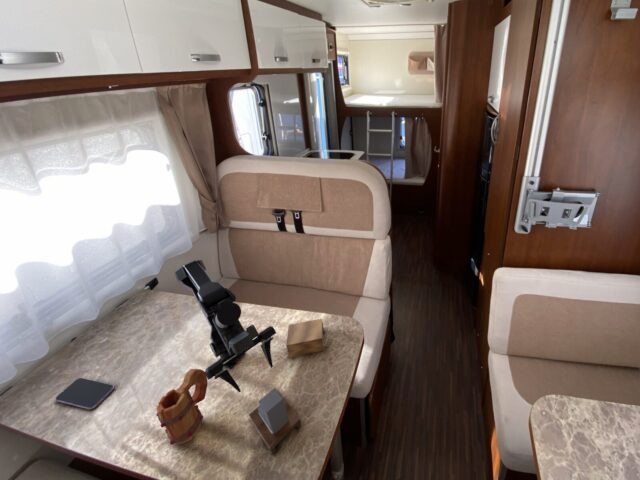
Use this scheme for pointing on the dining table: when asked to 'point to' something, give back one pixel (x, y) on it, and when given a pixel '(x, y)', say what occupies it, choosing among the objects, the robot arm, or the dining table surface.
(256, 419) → the small wooden stand
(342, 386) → the dining table surface
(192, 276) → the robot arm
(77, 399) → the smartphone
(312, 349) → the light wood block
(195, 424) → the mug
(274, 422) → the grey upright block
